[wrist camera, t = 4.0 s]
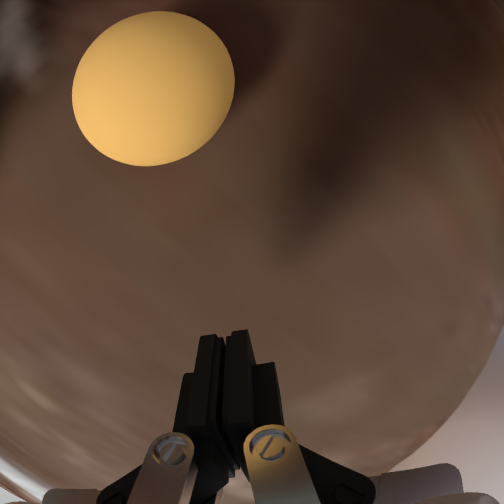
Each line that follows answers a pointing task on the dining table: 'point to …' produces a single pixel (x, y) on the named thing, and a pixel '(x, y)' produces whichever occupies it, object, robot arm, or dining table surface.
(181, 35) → the ball
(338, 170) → the dining table surface
